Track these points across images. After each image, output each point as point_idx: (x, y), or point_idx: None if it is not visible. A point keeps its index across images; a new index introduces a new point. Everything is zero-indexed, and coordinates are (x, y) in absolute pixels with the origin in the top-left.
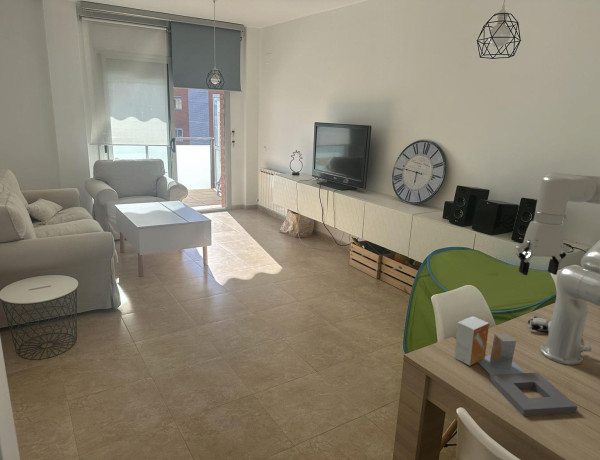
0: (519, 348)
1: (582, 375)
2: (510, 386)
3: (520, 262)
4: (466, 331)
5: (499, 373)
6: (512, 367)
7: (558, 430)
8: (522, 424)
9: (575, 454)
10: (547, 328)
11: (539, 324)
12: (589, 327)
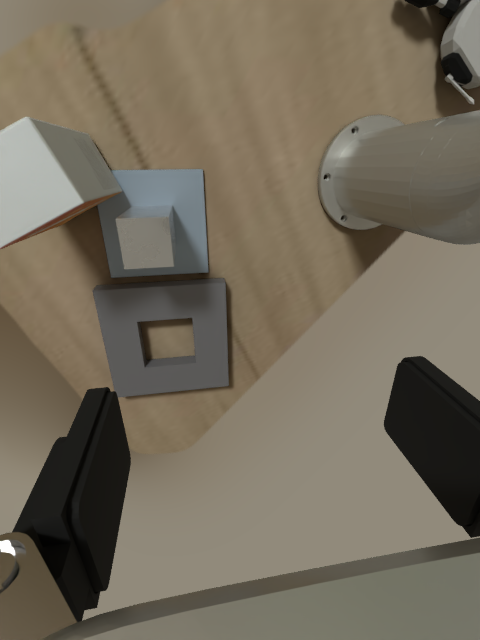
0: (273, 126)
1: (340, 269)
2: (123, 333)
3: (22, 516)
4: None
5: None
6: (185, 237)
7: (164, 415)
8: None
9: (158, 453)
10: (460, 5)
11: None
12: None
